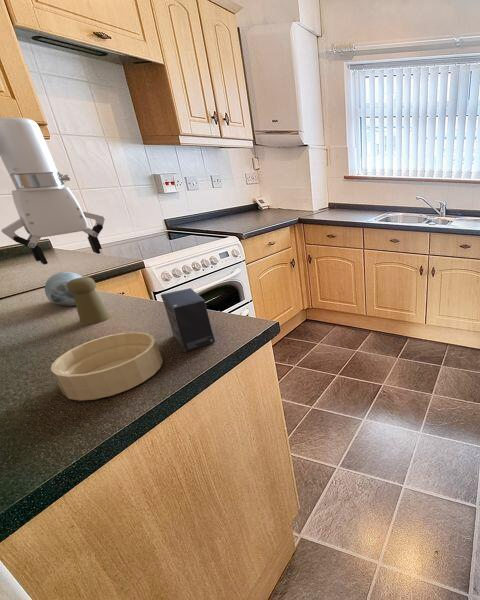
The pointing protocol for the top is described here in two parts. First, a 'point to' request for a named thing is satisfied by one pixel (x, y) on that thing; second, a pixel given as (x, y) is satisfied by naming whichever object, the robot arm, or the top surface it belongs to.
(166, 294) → the small box
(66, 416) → the top surface
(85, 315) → the cork
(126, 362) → the bowl
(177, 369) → the top surface
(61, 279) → the light blue rounded lump
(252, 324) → the top surface
